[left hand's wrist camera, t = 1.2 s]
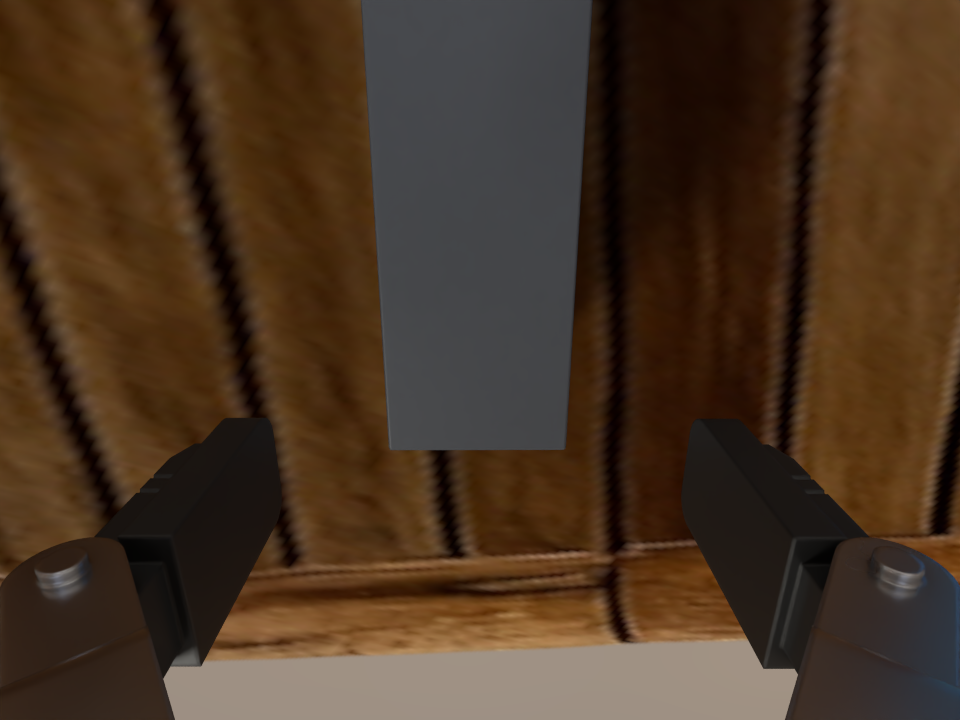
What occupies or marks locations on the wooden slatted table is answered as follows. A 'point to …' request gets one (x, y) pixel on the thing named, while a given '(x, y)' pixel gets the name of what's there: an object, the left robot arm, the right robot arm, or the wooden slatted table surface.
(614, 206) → the wooden slatted table surface
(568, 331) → the bar
